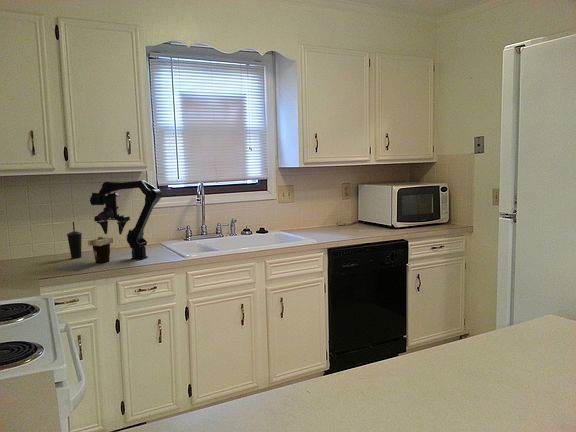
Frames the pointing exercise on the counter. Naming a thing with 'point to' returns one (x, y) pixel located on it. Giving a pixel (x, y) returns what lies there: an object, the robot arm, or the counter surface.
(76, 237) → the drinking cup
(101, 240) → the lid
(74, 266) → the mat
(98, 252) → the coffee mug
